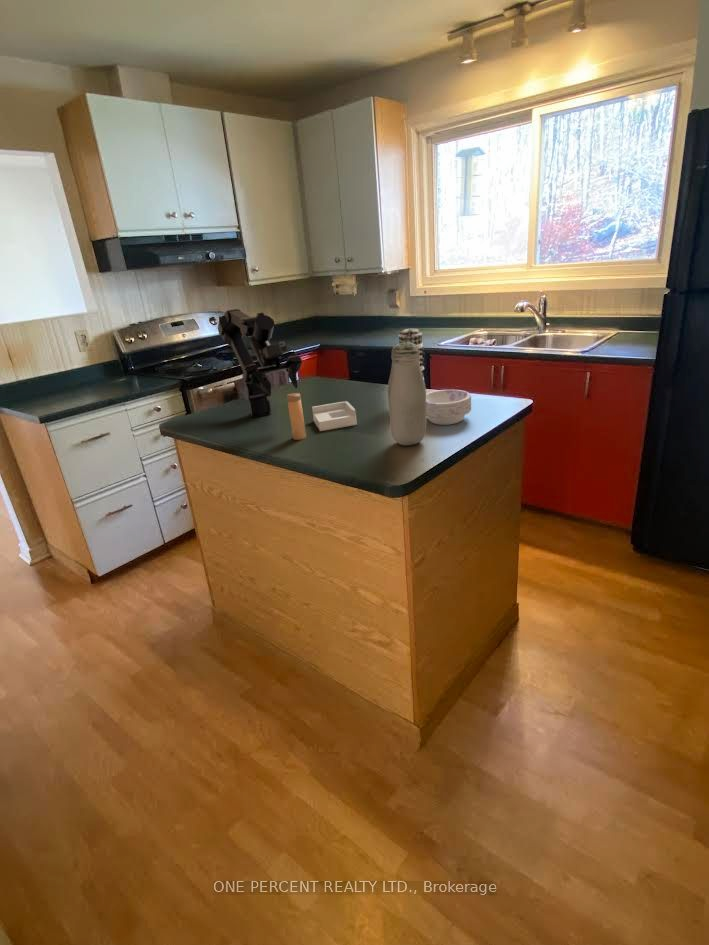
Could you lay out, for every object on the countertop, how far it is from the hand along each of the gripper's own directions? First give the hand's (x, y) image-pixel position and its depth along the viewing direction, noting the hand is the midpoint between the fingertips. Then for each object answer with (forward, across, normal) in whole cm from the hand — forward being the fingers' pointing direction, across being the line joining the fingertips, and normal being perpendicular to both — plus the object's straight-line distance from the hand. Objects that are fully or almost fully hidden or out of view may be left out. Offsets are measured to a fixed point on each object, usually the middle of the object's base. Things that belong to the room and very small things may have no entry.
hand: (283, 390), depth 159 cm
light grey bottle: (+35, +21, -16) cm, 44 cm away
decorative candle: (+13, +46, +6) cm, 48 cm away
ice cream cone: (+15, 0, +4) cm, 15 cm away
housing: (+12, +15, +7) cm, 20 cm away
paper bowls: (+29, +41, -10) cm, 51 cm away
